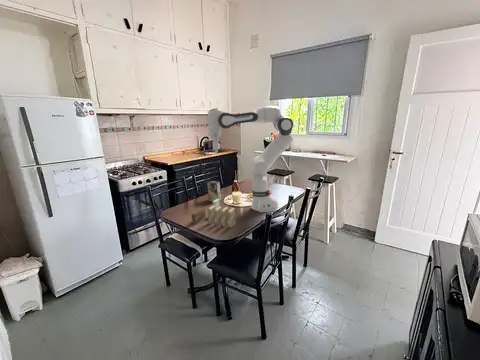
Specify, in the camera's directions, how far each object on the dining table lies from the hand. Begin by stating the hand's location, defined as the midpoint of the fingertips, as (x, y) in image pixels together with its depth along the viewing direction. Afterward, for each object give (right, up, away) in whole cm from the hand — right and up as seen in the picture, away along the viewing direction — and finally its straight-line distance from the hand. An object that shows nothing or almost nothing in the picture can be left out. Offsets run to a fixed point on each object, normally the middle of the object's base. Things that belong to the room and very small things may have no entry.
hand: (216, 152), depth 167 cm
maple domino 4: (+12, -50, -16) cm, 53 cm away
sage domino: (0, -45, +2) cm, 45 cm away
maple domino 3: (+7, -49, -14) cm, 52 cm away
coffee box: (-4, -37, +31) cm, 49 cm away
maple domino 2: (+3, -49, -12) cm, 50 cm away
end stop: (-11, -48, -6) cm, 50 cm away
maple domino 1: (-1, -49, -10) cm, 50 cm away
